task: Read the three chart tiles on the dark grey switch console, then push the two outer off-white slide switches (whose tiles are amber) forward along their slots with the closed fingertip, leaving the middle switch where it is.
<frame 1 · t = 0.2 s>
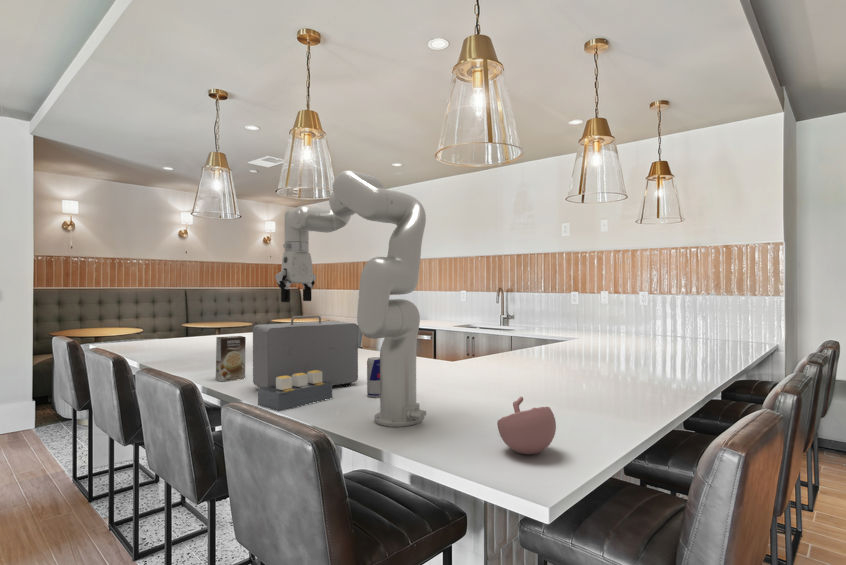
hand: (296, 301, 150), 30 cm above the counter, tool pointing down, fingers open, 9 cm apart
switch a: (314, 376, 145), point 7 cm above the counter, slide at 0.0 cm
switch c: (284, 382, 137), point 7 cm above the counter, slide at 0.0 cm
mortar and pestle: (526, 453, 98), on the counter
console: (296, 401, 142), on the counter
coffee box: (230, 379, 177), on the counter
switch b: (299, 379, 141), point 7 cm above the counter, slide at 0.0 cm
energy drink: (375, 396, 149), on the counter
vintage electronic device: (305, 387, 163), on the counter
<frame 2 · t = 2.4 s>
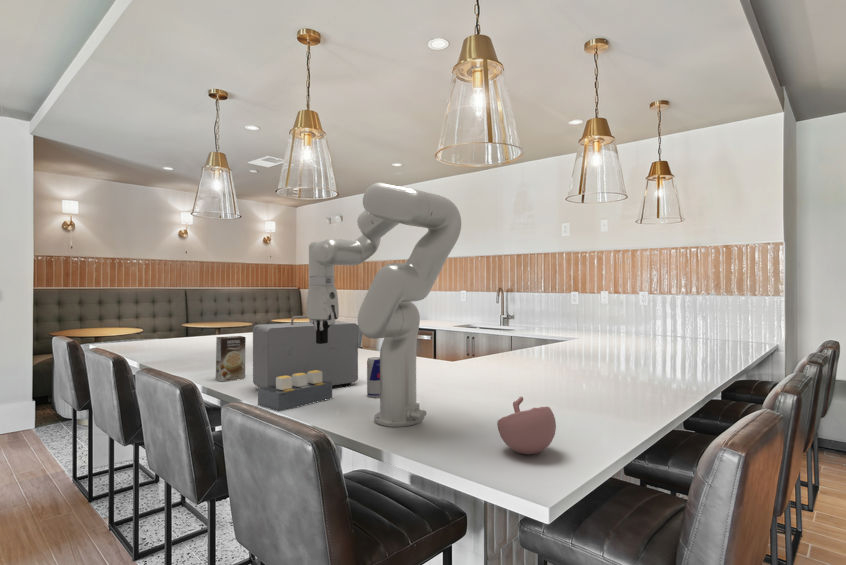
hand: (322, 343, 141), 18 cm above the counter, tool pointing down, fingers closed
nothing on the counter moved.
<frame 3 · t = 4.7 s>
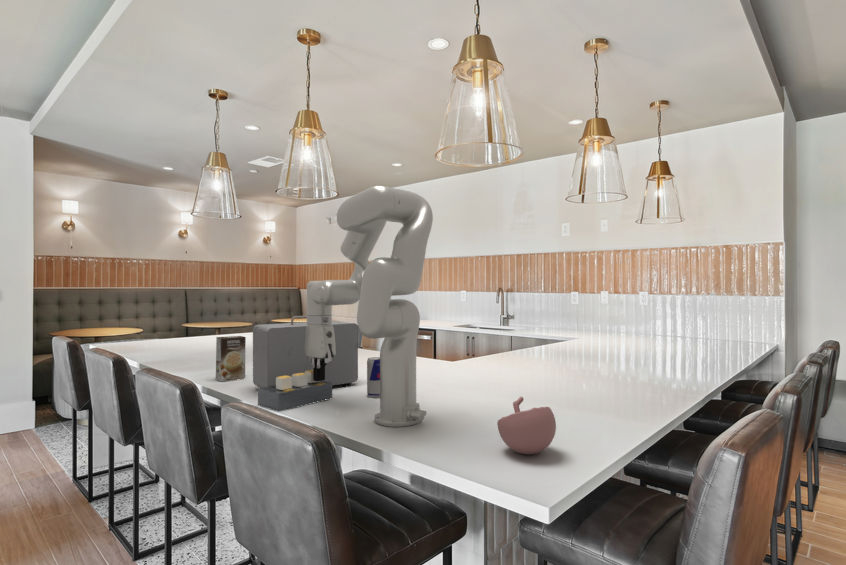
hand: (319, 380, 144), 6 cm above the counter, tool pointing down, fingers closed
switch a: (312, 376, 146), point 7 cm above the counter, slide at 1.3 cm, touching gripper
everything else where it was.
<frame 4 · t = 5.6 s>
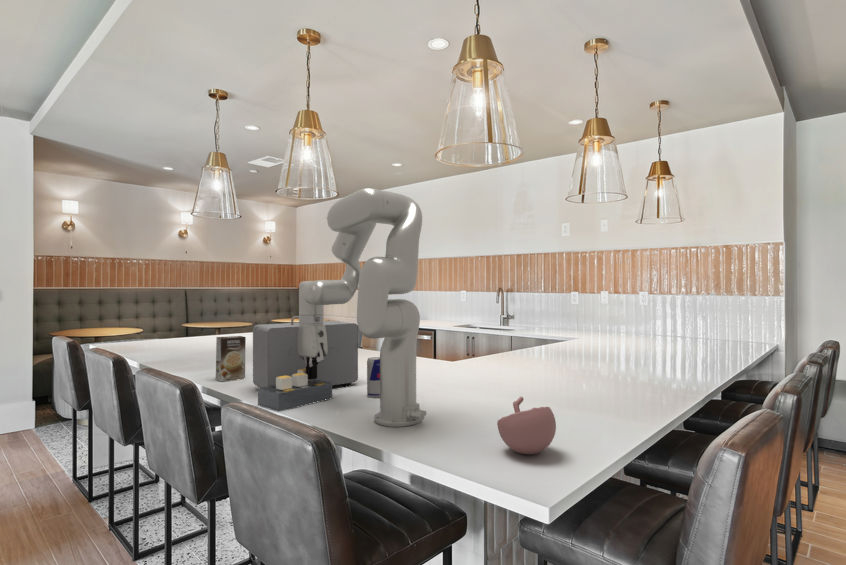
hand: (311, 378, 146), 6 cm above the counter, tool pointing down, fingers closed
switch a: (304, 374, 148), point 7 cm above the counter, slide at 5.1 cm, touching gripper
everything else where it was.
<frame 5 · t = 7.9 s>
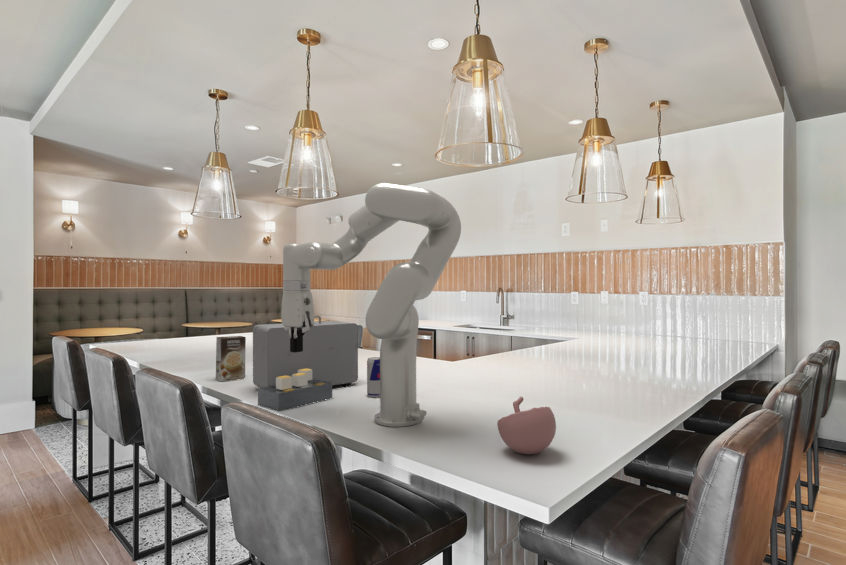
hand: (296, 351, 133), 17 cm above the counter, tool pointing down, fingers closed
switch a: (305, 374, 148), point 7 cm above the counter, slide at 5.1 cm
everything else where it was.
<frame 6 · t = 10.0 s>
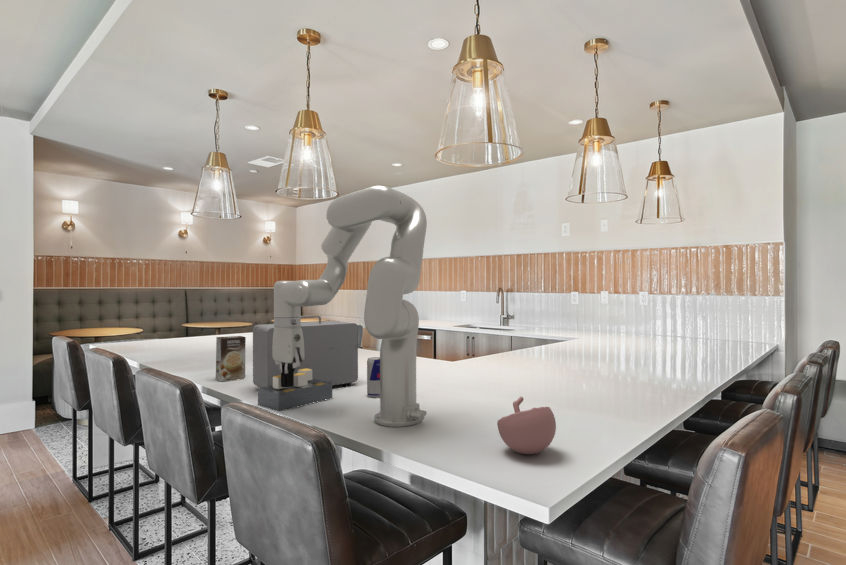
hand: (287, 386, 135), 6 cm above the counter, tool pointing down, fingers closed
switch c: (280, 381, 138), point 7 cm above the counter, slide at 1.7 cm, touching gripper
everything else where it was.
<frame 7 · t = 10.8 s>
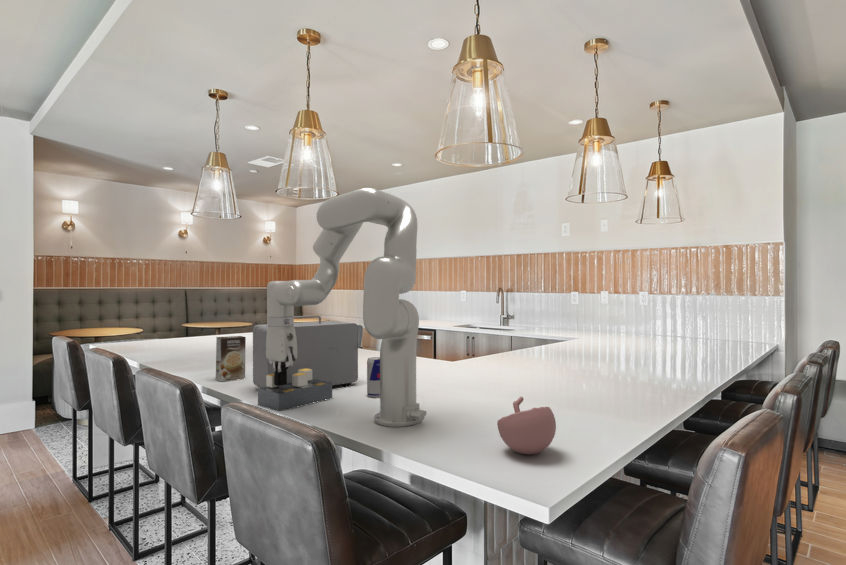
hand: (280, 384, 138), 6 cm above the counter, tool pointing down, fingers closed
switch c: (274, 380, 140), point 7 cm above the counter, slide at 5.1 cm, touching gripper
everything else where it was.
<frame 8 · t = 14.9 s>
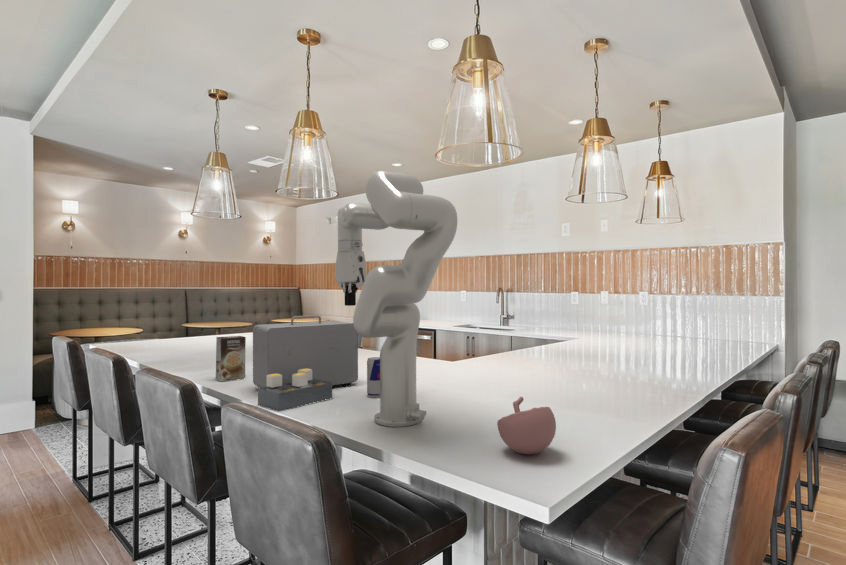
hand: (350, 305, 146), 29 cm above the counter, tool pointing down, fingers closed
switch c: (274, 380, 140), point 7 cm above the counter, slide at 5.1 cm
everything else where it was.
at the end: switch a slide at 5.1 cm; switch c slide at 5.1 cm; switch b slide at 0.0 cm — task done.
